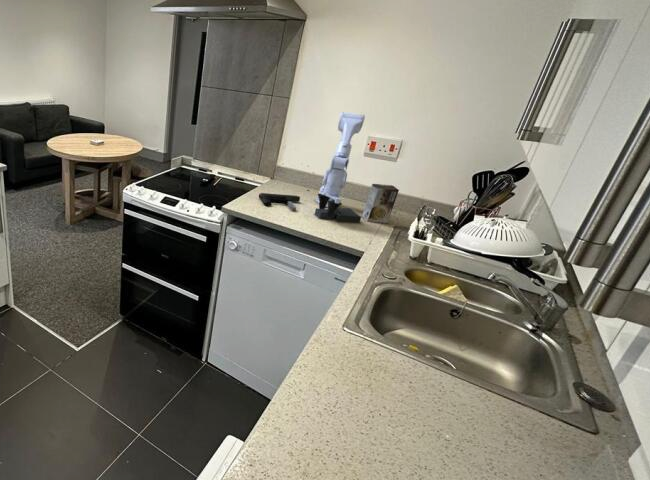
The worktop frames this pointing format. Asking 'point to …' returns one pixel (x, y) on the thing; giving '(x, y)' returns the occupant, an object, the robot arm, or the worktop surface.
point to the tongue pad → (324, 214)
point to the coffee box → (380, 203)
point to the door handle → (279, 199)
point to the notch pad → (347, 216)
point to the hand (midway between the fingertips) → (325, 212)
